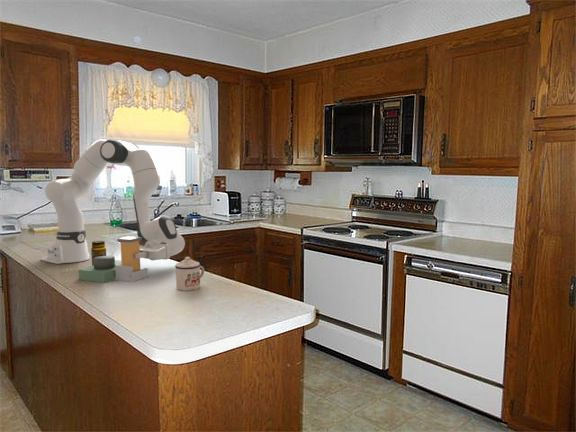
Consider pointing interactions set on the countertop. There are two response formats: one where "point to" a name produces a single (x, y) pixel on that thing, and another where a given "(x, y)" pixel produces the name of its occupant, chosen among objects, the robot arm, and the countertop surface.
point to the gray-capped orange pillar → (130, 251)
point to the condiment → (98, 249)
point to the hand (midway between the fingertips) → (128, 255)
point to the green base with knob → (110, 271)
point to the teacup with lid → (188, 274)
